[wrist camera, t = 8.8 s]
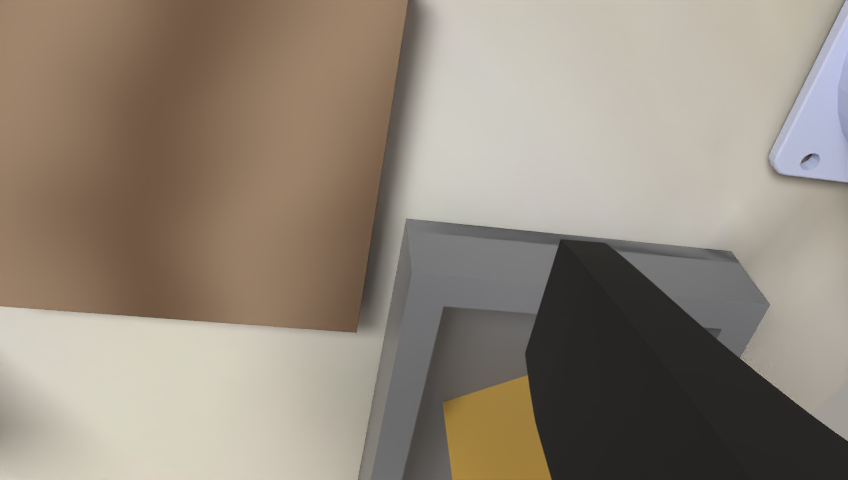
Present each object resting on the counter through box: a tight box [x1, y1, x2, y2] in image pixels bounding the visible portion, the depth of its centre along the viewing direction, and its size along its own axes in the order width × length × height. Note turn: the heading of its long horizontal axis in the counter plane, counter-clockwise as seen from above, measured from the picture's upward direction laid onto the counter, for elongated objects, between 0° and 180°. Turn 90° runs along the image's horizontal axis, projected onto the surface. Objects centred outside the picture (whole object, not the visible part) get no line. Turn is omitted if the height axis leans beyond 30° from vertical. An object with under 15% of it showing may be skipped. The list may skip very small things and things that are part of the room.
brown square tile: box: [0, 0, 408, 333], centre depth 18 cm, size 10×10×1 cm
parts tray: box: [358, 219, 770, 480], centre depth 24 cm, size 10×16×2 cm, turn 170°
